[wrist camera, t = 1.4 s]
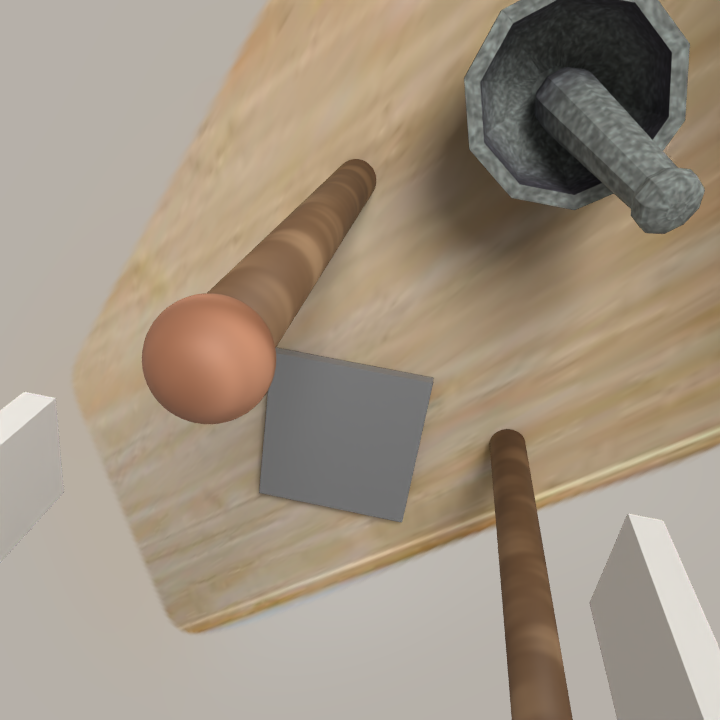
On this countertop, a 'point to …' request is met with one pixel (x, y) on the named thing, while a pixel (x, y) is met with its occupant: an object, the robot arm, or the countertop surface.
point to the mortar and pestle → (584, 107)
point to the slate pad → (342, 434)
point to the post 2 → (525, 589)
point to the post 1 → (250, 309)
